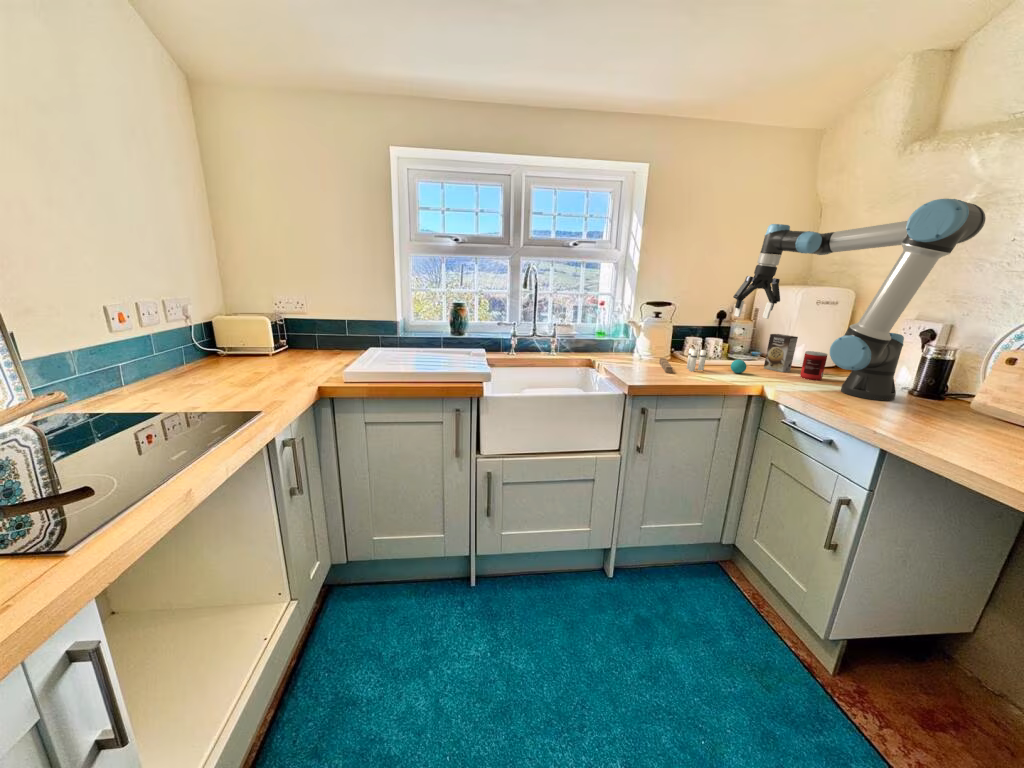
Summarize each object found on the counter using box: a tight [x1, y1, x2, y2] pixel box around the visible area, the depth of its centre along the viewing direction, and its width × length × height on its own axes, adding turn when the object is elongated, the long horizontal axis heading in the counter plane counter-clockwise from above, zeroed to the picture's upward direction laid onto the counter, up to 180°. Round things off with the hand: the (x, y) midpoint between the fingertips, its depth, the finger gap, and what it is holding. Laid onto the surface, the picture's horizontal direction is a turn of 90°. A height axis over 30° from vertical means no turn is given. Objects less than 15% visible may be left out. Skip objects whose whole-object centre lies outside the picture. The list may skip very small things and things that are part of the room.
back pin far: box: [686, 347, 696, 370], centre depth 184 cm, size 2×2×9 cm
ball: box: [730, 359, 747, 374], centre depth 178 cm, size 6×6×6 cm
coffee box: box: [763, 333, 799, 373], centre depth 187 cm, size 9×6×16 cm
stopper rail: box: [658, 357, 673, 374], centre depth 184 cm, size 22×2×2 cm, turn 168°
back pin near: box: [688, 349, 699, 372], centre depth 179 cm, size 2×2×9 cm
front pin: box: [697, 349, 708, 371], centre depth 180 cm, size 2×2×9 cm
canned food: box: [799, 350, 828, 381], centre depth 172 cm, size 8×8×11 cm
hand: (751, 317), depth 173 cm, fingers open, 13 cm apart
